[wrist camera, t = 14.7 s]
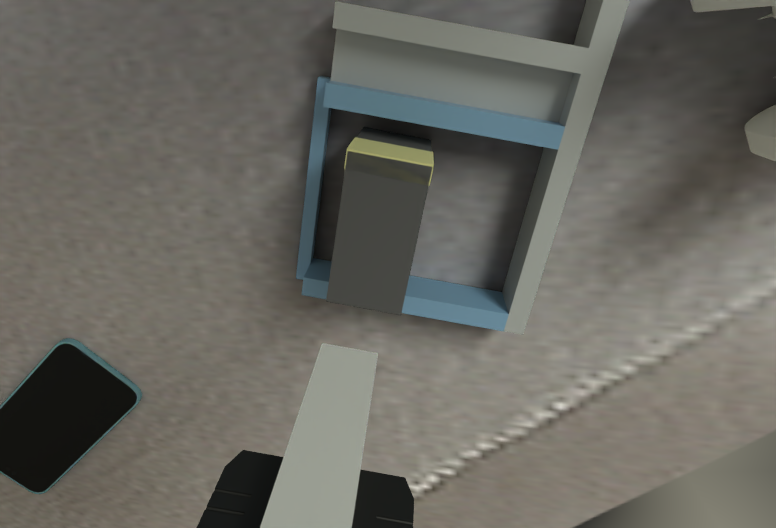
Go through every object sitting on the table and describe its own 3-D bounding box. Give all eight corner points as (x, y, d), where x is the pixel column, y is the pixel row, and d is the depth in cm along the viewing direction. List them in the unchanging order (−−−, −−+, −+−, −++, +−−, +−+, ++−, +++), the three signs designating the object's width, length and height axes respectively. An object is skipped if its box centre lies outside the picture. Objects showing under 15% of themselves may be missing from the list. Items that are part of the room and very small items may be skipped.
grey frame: (359, -273, 24) (351, -313, 21) (674, -212, 24) (707, -245, 21) (299, 272, 35) (288, 292, 32) (515, 311, 35) (522, 334, 32)
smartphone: (145, 397, 39) (40, 498, 44) (152, 388, 40) (48, 488, 45) (63, 335, 37) (-39, 447, 42) (72, 328, 38) (-28, 438, 43)
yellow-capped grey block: (363, 125, 31) (347, 148, 24) (431, 138, 31) (433, 165, 24) (343, 251, 34) (325, 301, 28) (406, 262, 34) (402, 315, 28)
